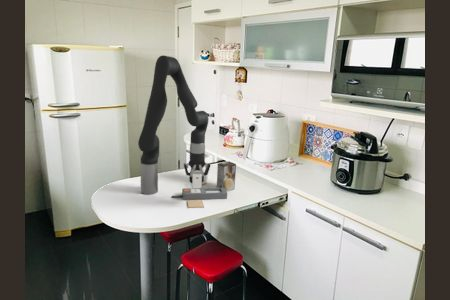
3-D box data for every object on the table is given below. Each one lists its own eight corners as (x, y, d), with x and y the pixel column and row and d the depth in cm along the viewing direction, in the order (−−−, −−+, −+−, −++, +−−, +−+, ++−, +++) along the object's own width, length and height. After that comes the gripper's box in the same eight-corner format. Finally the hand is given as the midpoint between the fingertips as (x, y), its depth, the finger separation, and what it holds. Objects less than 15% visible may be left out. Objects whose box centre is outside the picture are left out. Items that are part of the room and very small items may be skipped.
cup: (206, 186, 194) (207, 159, 189) (188, 184, 196) (188, 157, 191) (210, 180, 204) (211, 154, 200) (193, 178, 206) (194, 152, 202)
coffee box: (228, 186, 197) (229, 161, 193) (234, 189, 192) (236, 163, 188) (216, 189, 191) (217, 163, 187) (222, 192, 186) (224, 166, 182)
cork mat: (188, 208, 165) (188, 207, 165) (187, 201, 173) (187, 200, 172) (204, 207, 167) (204, 206, 167) (202, 200, 174) (202, 199, 174)
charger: (192, 188, 164) (192, 175, 162) (191, 184, 169) (191, 172, 167) (201, 187, 165) (201, 175, 163) (200, 184, 170) (200, 171, 168)
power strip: (172, 200, 172) (172, 193, 171) (171, 194, 180) (171, 187, 179) (226, 198, 179) (227, 192, 177) (224, 193, 186) (224, 186, 185)
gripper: (183, 153, 157) (183, 185, 161) (212, 152, 160) (211, 185, 164) (182, 148, 164) (182, 180, 169) (210, 148, 167) (209, 179, 171)
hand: (196, 182), depth 166 cm, fingers closed on charger, 4 cm apart
